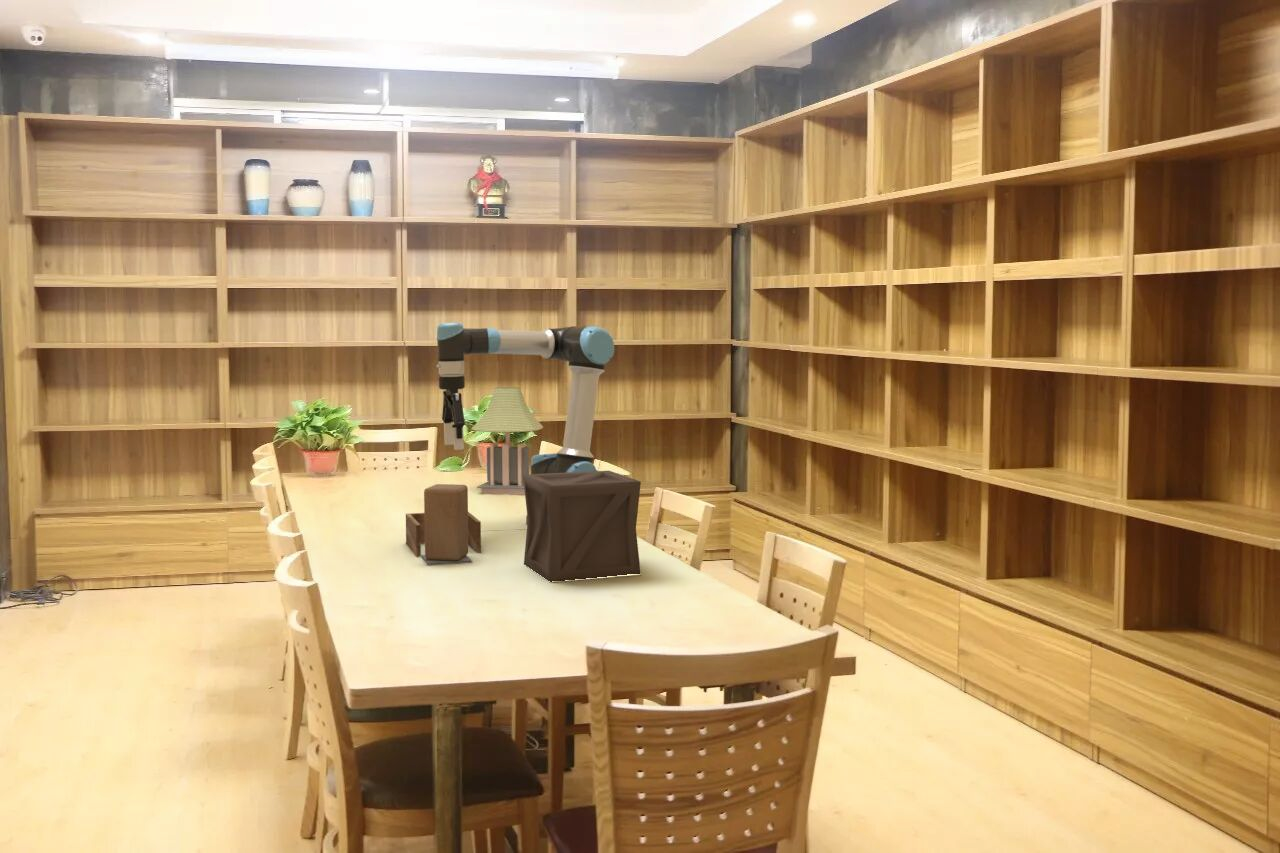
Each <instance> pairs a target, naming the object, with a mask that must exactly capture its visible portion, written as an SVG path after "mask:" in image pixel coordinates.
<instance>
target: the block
mask: <svg viewBox="0 0 1280 853" xmlns="http://www.w3.org/2000/svg"><path fill="white" fill-rule="evenodd" d="M468 490H469V489H468V486H467V485H466V484H453V483H452V484H450V483H449V484H448V483H445V484H442V483H437V484H433V485H431V486H429V487H427V488H425V489H424V491H423V501H424V504H423V507H424V510H423V511H424V512H423V513H424V518H425V543H424V555H425V557H426V559H428V560H451V561H457V560H459V559H461V558H462V557H464V556H466V555H467V556H468V554H469V545H468V512H469V505H468V504H469V497H468V496H469V495H468V493H469V491H468Z"/></svg>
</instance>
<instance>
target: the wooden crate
mask: <svg viewBox="0 0 1280 853" xmlns="http://www.w3.org/2000/svg"><path fill="white" fill-rule="evenodd" d="M523 481H524V490H525V495H524V497H525V507H526V516H527V517H528V524H526V536H525V547H524V558H523V566H525V565H526V566H525V567H526V568H528V567H529V568H530V569H529V568H528V569H529V570H531V569H532V570H533V572H534V571H535V572H536V573H535V572H534V573H535V574H537V573H538V574H539V575H538V574H537V575H538V576H540V575H541V576H542V577H544V578H545V579H547V580H548V581H550V582H552V581H565V580H575V579H586V578H597V577H607V576H617V575H627V574H640V573H641V563H640V555H639V547H638V546H639V544H638V537H637V536H638V535H637V521H638V514H639V512H638V511H639V502H640V492H641V484H642V482H641V481H639V480H636V479H634V478H631V477H628V476H626V475H624V474H623V475H622V474H620V473H616V472H614V471H612V470H597V471H589V472H569V473H548V474H531V473H529V474H527V475H523ZM532 570H531V571H532ZM641 574H642V573H641ZM541 576H540V577H541ZM542 577H541V578H542ZM544 578H543V579H544ZM545 579H544V580H545ZM547 580H546V581H547ZM548 581H547V582H548ZM550 582H549V583H550ZM565 582H566V581H565Z"/></svg>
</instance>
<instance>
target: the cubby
mask: <svg viewBox="0 0 1280 853" xmlns="http://www.w3.org/2000/svg"><path fill="white" fill-rule="evenodd" d="M481 523H482V522H481V520H479V519H478V518H477V517H475V516H474V515H473V514H472V513H471V512H470V511H468V547H470V549H472V550H473V551H474V552H475V553H476V554H481V553H482V534H481V533H482V530H481V528H482V524H481ZM405 544H406V545H407V547H408V548H409V549H410V551H411V552H412V553H413V554H414V556H415V557H417V558H418V557H421V555H422V549H421V548H422V547H421V544H425V518H424V512H412V513H405Z"/></svg>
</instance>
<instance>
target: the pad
mask: <svg viewBox="0 0 1280 853" xmlns="http://www.w3.org/2000/svg"><path fill="white" fill-rule="evenodd" d="M420 557H421V558H422V559H423V561H424V562H425V564H426V565H427V566H434V565H435V566H437V565H450V564H452V565H453V564H467V563H472V561H473V560H472V559H471V558H470V557H469V556H468V554H467V555H466V556H464V557H462V558H461V559H459V560H457V561H451V560H428V559H426V557H425V554H421V556H420Z"/></svg>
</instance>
